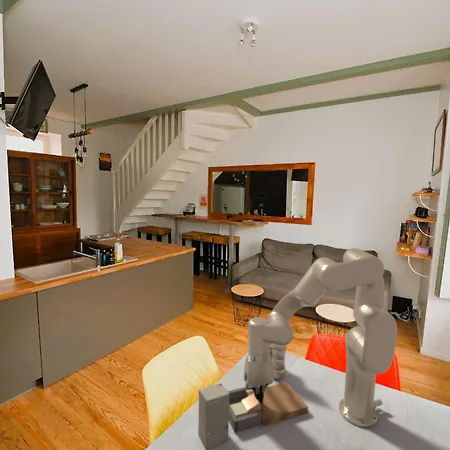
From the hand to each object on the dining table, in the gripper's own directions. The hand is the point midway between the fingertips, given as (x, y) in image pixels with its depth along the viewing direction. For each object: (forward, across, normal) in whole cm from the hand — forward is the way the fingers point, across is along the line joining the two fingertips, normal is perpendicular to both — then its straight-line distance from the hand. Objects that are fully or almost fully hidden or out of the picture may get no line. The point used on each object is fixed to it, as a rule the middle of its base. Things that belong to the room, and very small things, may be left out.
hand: (259, 400), depth 102 cm
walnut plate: (+4, -7, 0) cm, 8 cm away
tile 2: (+2, +3, 0) cm, 3 cm away
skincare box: (+4, +19, +5) cm, 20 cm away
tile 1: (+3, +8, 0) cm, 9 cm away
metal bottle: (+4, -16, -14) cm, 22 cm away
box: (+4, +7, -1) cm, 8 cm away
